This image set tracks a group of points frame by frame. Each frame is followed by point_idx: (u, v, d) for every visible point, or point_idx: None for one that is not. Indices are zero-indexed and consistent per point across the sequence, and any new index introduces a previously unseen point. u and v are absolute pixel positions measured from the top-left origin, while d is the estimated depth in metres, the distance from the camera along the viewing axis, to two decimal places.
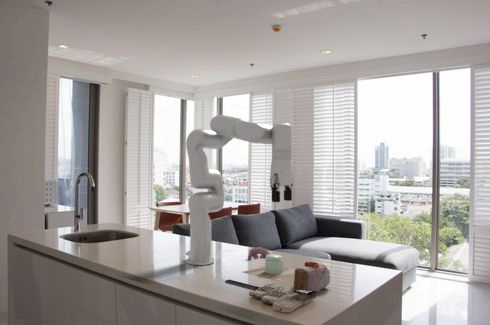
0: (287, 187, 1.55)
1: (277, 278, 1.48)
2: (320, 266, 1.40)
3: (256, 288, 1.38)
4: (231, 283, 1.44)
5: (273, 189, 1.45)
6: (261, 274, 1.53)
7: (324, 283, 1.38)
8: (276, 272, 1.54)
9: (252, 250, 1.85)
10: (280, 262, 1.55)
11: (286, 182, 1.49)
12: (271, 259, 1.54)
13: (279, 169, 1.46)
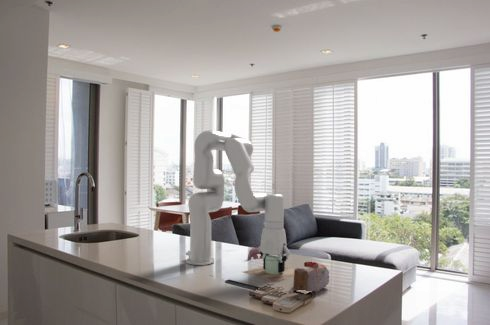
0: None
1: (277, 278, 1.48)
2: (319, 266, 1.40)
3: (256, 288, 1.38)
4: (231, 283, 1.44)
5: (284, 260, 1.53)
6: (261, 274, 1.53)
7: (323, 283, 1.38)
8: (276, 272, 1.54)
9: (252, 250, 1.85)
10: None
11: None
12: (271, 259, 1.54)
13: (285, 239, 1.55)
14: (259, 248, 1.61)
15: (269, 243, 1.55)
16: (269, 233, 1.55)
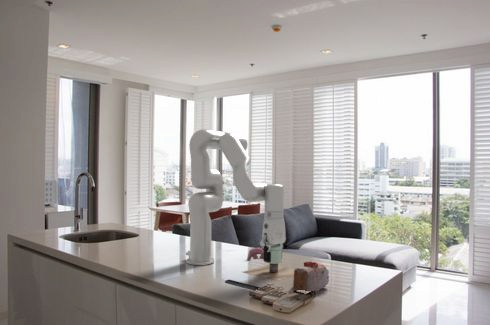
0: None
1: (277, 278, 1.48)
2: (319, 266, 1.40)
3: (256, 288, 1.38)
4: (231, 283, 1.44)
5: None
6: (261, 274, 1.53)
7: (323, 283, 1.38)
8: None
9: (252, 250, 1.84)
10: None
11: None
12: (280, 248, 1.56)
13: None
14: (263, 242, 1.52)
15: (278, 233, 1.55)
16: (279, 223, 1.56)
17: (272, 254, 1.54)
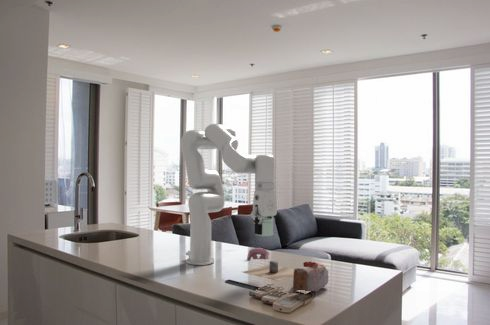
0: None
1: (277, 278, 1.48)
2: (319, 266, 1.40)
3: (256, 288, 1.38)
4: (231, 283, 1.44)
5: None
6: (261, 274, 1.53)
7: (323, 283, 1.39)
8: None
9: (251, 251, 1.84)
10: None
11: None
12: (272, 220, 1.52)
13: None
14: (254, 214, 1.47)
15: (270, 205, 1.51)
16: (270, 195, 1.51)
17: (263, 226, 1.49)
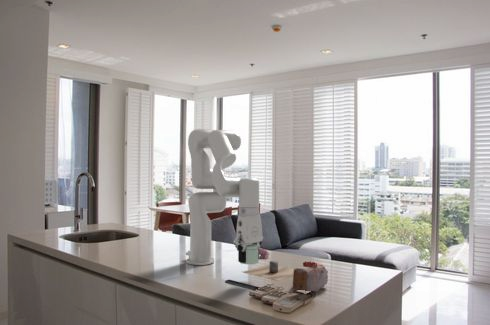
0: None
1: (277, 278, 1.48)
2: (318, 266, 1.40)
3: (256, 288, 1.38)
4: (231, 283, 1.44)
5: None
6: (261, 274, 1.53)
7: (322, 283, 1.39)
8: None
9: None
10: None
11: None
12: (257, 247, 1.44)
13: None
14: (237, 241, 1.40)
15: (254, 231, 1.44)
16: (254, 220, 1.44)
17: (247, 254, 1.42)
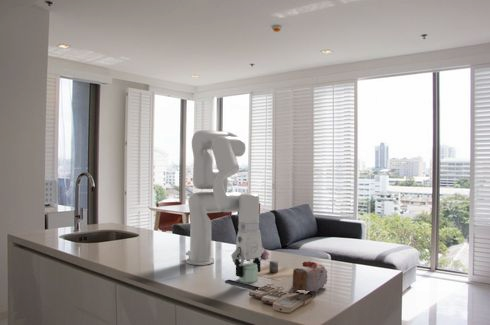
0: None
1: (277, 278, 1.48)
2: (318, 266, 1.40)
3: (256, 288, 1.38)
4: (231, 283, 1.44)
5: None
6: (261, 274, 1.53)
7: (322, 283, 1.39)
8: None
9: None
10: None
11: None
12: (256, 266, 1.44)
13: None
14: (235, 255, 1.39)
15: (254, 247, 1.44)
16: (254, 236, 1.44)
17: (247, 274, 1.42)
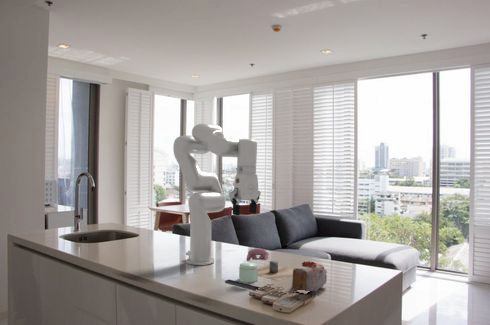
0: None
1: (277, 278, 1.48)
2: (317, 266, 1.40)
3: (256, 288, 1.38)
4: (231, 283, 1.44)
5: None
6: (261, 274, 1.53)
7: (321, 282, 1.39)
8: None
9: (251, 251, 1.83)
10: None
11: None
12: (256, 266, 1.44)
13: None
14: (232, 194, 1.50)
15: (250, 189, 1.54)
16: (251, 178, 1.54)
17: (247, 274, 1.42)
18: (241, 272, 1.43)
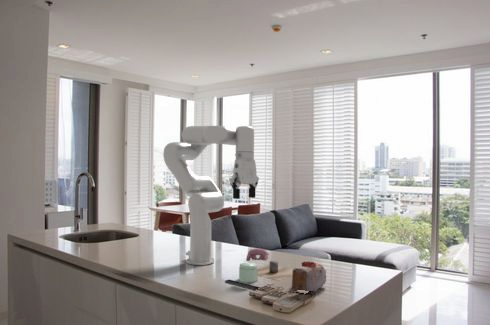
0: None
1: (277, 278, 1.48)
2: (317, 266, 1.41)
3: (256, 288, 1.38)
4: (231, 283, 1.44)
5: None
6: (261, 274, 1.53)
7: (321, 282, 1.39)
8: None
9: (251, 251, 1.82)
10: None
11: None
12: (256, 266, 1.44)
13: None
14: (232, 178, 1.56)
15: (249, 173, 1.60)
16: (249, 163, 1.61)
17: (247, 274, 1.42)
18: (241, 272, 1.43)
